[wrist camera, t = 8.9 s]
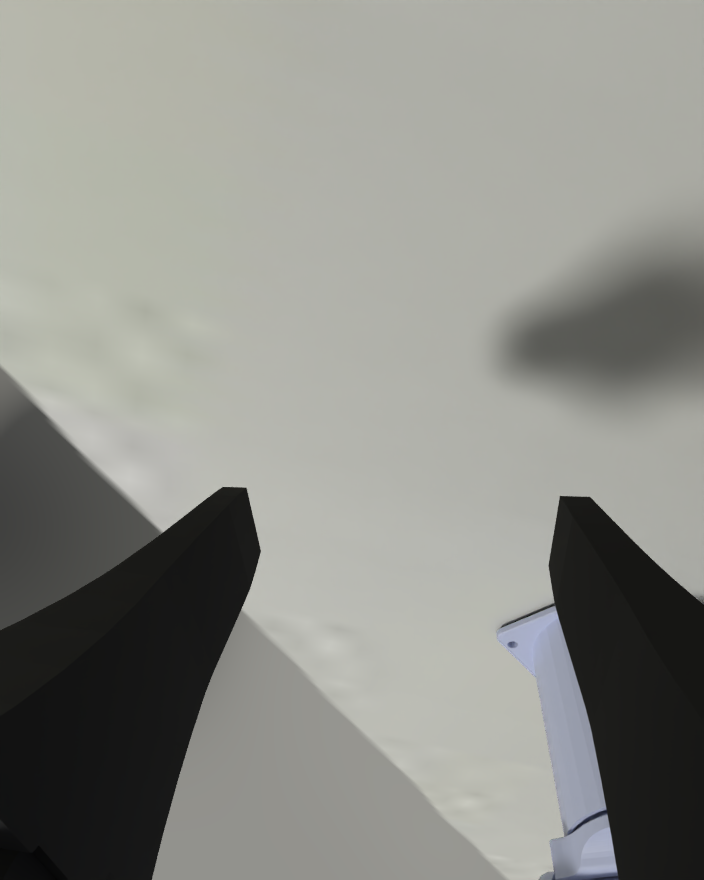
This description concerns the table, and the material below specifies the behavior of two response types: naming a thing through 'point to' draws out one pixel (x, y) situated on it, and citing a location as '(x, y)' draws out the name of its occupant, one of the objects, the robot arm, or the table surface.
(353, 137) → the table surface
